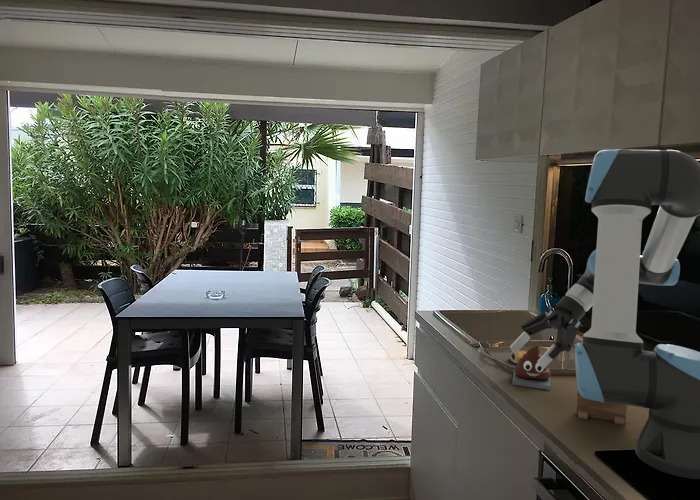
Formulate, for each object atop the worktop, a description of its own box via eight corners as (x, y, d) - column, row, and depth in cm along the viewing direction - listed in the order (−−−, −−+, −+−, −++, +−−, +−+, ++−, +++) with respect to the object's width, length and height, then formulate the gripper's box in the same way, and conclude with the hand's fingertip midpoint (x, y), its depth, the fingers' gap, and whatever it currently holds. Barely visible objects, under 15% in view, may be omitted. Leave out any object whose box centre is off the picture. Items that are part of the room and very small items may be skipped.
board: (550, 390, 155) (550, 385, 155) (512, 384, 158) (512, 380, 158) (549, 378, 165) (549, 374, 165) (513, 373, 168) (514, 369, 168)
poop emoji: (549, 374, 165) (551, 343, 164) (551, 384, 156) (554, 351, 155) (513, 370, 167) (515, 339, 166) (513, 379, 159) (516, 347, 158)
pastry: (537, 360, 183) (538, 348, 182) (544, 366, 176) (545, 355, 176) (508, 359, 183) (509, 347, 182) (514, 366, 176) (515, 354, 175)
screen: (626, 425, 134) (631, 367, 132) (576, 417, 137) (581, 361, 135) (623, 417, 138) (628, 361, 137) (575, 410, 142) (579, 355, 140)
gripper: (613, 323, 152) (561, 381, 149) (555, 303, 175) (509, 352, 173) (598, 304, 150) (545, 362, 147) (541, 286, 173) (495, 336, 171)
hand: (525, 357), depth 160 cm, fingers open, 13 cm apart
